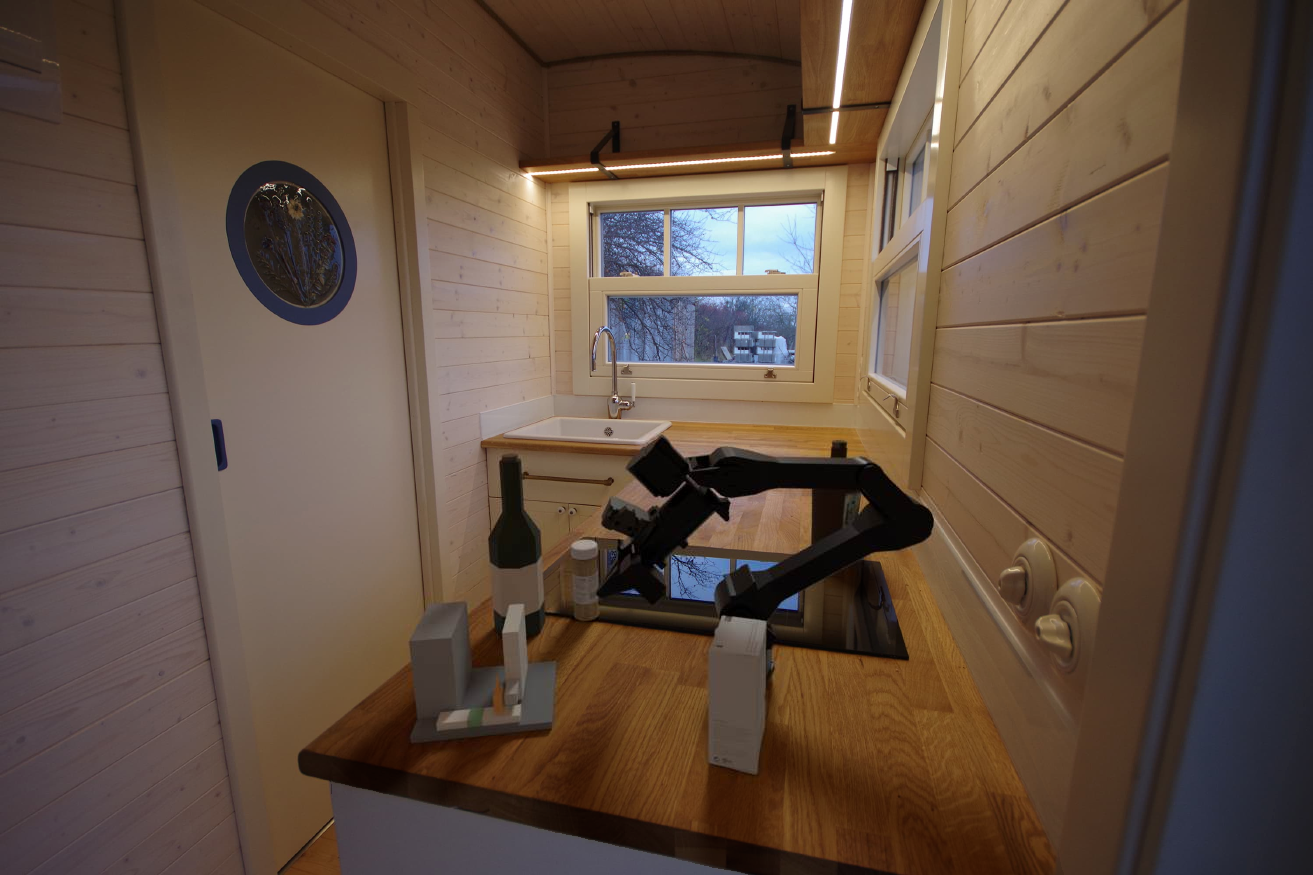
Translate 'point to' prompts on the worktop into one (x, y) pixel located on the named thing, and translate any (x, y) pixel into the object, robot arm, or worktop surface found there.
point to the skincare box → (737, 693)
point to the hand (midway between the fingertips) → (598, 595)
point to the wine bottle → (516, 554)
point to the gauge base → (468, 683)
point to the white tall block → (515, 654)
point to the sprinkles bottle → (585, 579)
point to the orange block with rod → (498, 697)
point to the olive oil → (833, 503)
